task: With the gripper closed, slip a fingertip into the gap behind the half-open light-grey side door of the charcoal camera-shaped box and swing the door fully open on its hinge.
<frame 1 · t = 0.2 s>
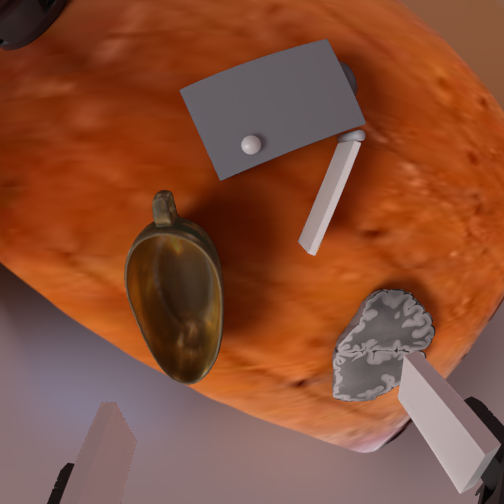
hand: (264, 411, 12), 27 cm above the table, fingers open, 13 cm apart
brain slice: (379, 340, 44), on the table
cup: (186, 274, 39), on the table
door: (332, 190, 34), point 3 cm above the table, hinge at 45.0°
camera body: (267, 114, 34), on the table
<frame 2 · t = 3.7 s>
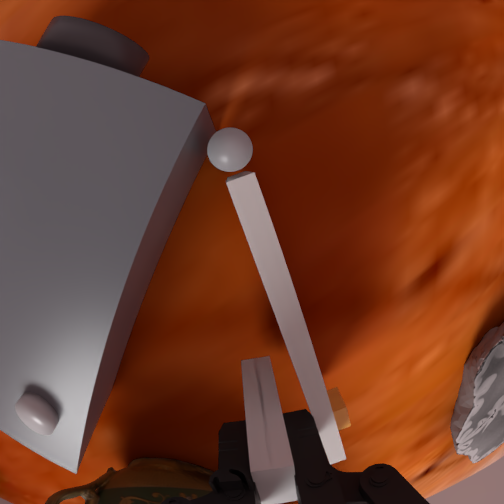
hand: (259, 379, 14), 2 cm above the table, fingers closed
cup: (195, 488, 20), on the table
door: (294, 311, 12), point 3 cm above the table, hinge at 46.3°, touching gripper
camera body: (66, 243, 14), on the table
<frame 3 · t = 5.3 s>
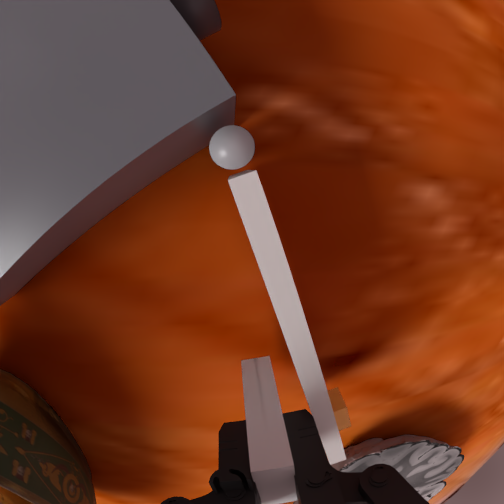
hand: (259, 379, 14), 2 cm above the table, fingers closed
brain slice: (372, 478, 22), on the table
cup: (39, 427, 18), on the table
door: (295, 310, 12), point 3 cm above the table, hinge at 78.4°, touching gripper
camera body: (51, 144, 13), on the table
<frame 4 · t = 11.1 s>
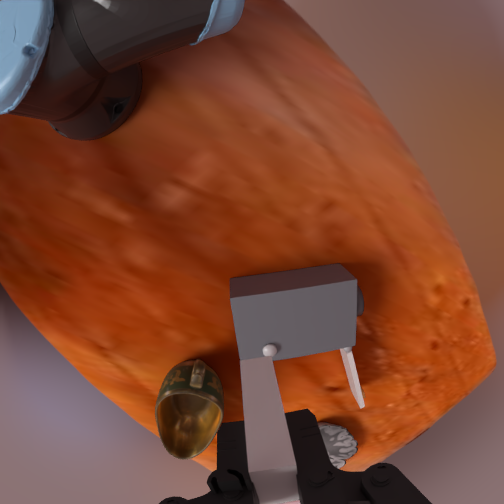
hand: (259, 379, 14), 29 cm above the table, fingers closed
brain slice: (315, 446, 56), on the table
cup: (193, 387, 49), on the table
door: (351, 368, 46), point 3 cm above the table, hinge at 104.2°
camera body: (288, 302, 46), on the table
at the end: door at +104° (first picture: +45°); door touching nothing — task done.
